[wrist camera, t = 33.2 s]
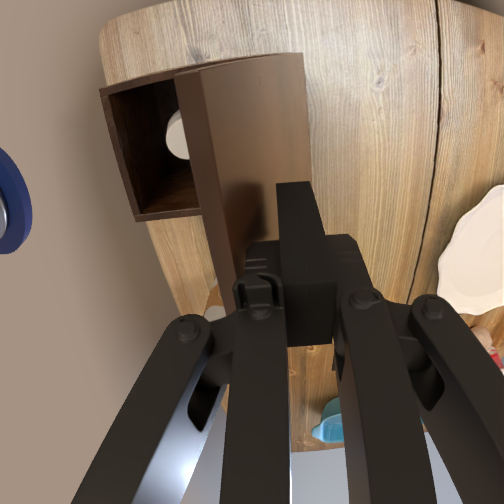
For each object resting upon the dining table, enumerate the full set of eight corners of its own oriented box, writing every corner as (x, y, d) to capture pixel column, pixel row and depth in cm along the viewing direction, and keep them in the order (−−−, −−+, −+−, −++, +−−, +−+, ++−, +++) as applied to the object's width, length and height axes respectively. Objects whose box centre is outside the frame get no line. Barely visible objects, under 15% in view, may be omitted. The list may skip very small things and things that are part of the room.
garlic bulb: (467, 341, 60) (479, 368, 54) (455, 335, 59) (467, 363, 52) (487, 324, 57) (500, 350, 50) (476, 316, 55) (490, 344, 49)
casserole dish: (448, 367, 66) (456, 389, 60) (427, 405, 79) (432, 425, 73) (308, 392, 71) (310, 417, 65) (311, 425, 84) (312, 446, 78)
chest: (169, 172, 41) (135, 222, 30) (147, 74, 33) (98, 89, 22) (296, 159, 39) (307, 206, 29) (286, 52, 31) (296, 52, 21)
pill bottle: (475, 352, 63) (490, 387, 54) (495, 342, 61) (510, 376, 52) (475, 363, 66) (488, 396, 57) (494, 353, 64) (508, 385, 55)
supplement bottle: (228, 138, 37) (217, 166, 29) (184, 140, 37) (161, 168, 29) (226, 94, 34) (213, 109, 26) (180, 97, 34) (154, 114, 26)
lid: (243, 381, 15) (258, 384, 15) (172, 74, 7) (199, 69, 7) (304, 208, 28) (312, 209, 28) (292, 53, 20) (302, 52, 20)
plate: (567, 200, 37) (574, 206, 35) (502, 311, 54) (507, 318, 52) (478, 149, 35) (487, 155, 33) (405, 300, 52) (409, 310, 51)
